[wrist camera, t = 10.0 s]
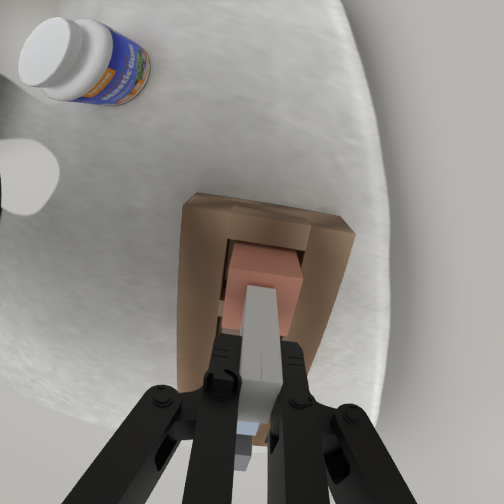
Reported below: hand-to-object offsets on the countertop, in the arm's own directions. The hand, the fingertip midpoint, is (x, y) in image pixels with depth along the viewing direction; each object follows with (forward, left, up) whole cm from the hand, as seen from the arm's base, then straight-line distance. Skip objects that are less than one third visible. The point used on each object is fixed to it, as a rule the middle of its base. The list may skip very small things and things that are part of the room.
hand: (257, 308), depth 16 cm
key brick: (0, 0, -6) cm, 6 cm away
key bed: (0, -9, -8) cm, 12 cm away
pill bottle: (-13, +13, -8) cm, 20 cm away
